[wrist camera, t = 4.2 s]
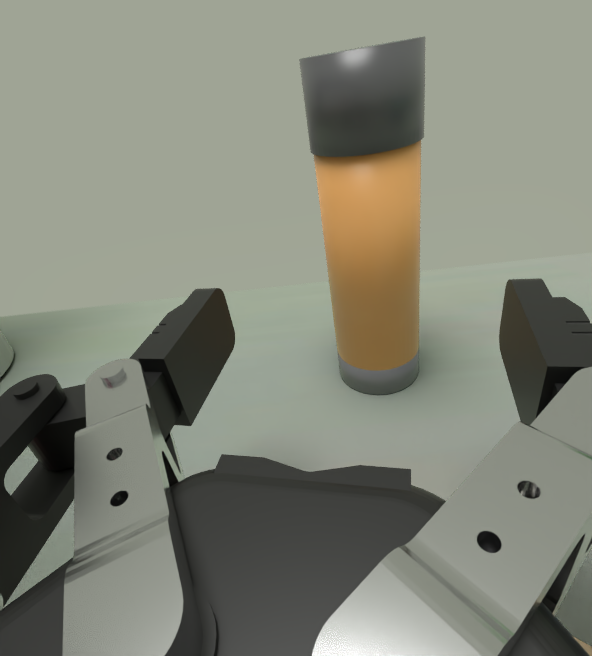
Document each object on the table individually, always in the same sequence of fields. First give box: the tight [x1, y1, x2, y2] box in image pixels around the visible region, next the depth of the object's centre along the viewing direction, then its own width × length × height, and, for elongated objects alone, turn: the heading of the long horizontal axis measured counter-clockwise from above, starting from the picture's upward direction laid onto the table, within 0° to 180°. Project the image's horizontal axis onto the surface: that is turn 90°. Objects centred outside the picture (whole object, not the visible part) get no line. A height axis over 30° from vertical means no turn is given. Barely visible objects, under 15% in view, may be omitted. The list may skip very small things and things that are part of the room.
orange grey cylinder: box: [299, 37, 425, 395], centre depth 18 cm, size 4×4×14 cm
